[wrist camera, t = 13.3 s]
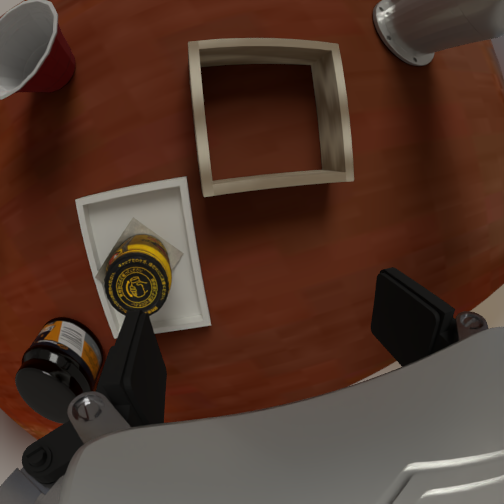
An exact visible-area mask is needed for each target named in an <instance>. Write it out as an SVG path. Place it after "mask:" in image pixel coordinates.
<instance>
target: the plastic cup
mask: <svg viewBox="0 0 504 504" xmlns="http://www.w3.org/2000/svg"><path fill="white" fill-rule="evenodd" d="M74 70H75V57H74V56H73V54H72V52H71V49H70V47H69V45H68V43H67V41H66V40H65V38H64V36H63V34H62V32H61V29H60V27H59V24H58V14H57V12H56V10H55V8H54V6H53V5H52V3H51V2H49V1H46V0H28V1H24V2H22V3H21V4H19V5H17V6H16V7H14V8H12V9H11V10H9V11H8V12H7V13H6V14H5V15H4V16H3V17H2V18H1V19H0V99H4V98H6V97H8V96H9V95H11V94H13V93H17V92H54V91H56V90H59V89H61V88H62V87H63V86H64V85H66V84H67V83H68V81H69V80H70V79H71V77H72V76H73V73H74Z"/></svg>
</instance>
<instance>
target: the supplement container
mask: <svg viewBox="0 0 504 504" xmlns="http://www.w3.org/2000/svg"><path fill="white" fill-rule="evenodd" d="M102 362H103V351H102V348H101V345H100V343H99V341H98V339H97V338H96V336H95V335H94V334H93V332H92V331H91V330H90V329H89V328H87V327H86V326H85V325H83V324H82V323H80V322H78V321H76V320H74V319H71V318H66V317H58V318H54V319H52V320H50V321H48V322H47V323H46V324H45V325H44V327H43V328H42V330H41V332H40V333H39V335H38V336H37V337H36V339H35V340H34V342H33V343H32V345H31V346H30V348H29V349H27V350H26V352H25V353H24V355H23V358H22V365H21V367H20V369H19V370H18V372H17V374H16V377H15V382H16V386H17V389H18V391H19V393H20V395H21V397H22V398H23V399H24V401H25V402H26V403H27V404H28V405H29V406H30V407H31V408H32V409H33V410H34V411H36V412H37V413H38V414H40V415H42V416H43V417H45V418H47V419H49V420H52V421H54V422H58V423H63V424H65V423H66V422H68V421H69V420H70V419H69V417H68V407H69V405H70V403H71V401H72V400H73V399H74V398H75V397H77V396H78V395H80V394H83V393H85V392H91V391H92V392H93V388H94V385H95V382H96V379H97V376H98V373H99V370H100V368H101V366H102Z"/></svg>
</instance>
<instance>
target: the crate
mask: <svg viewBox="0 0 504 504" xmlns="http://www.w3.org/2000/svg"><path fill="white" fill-rule="evenodd" d="M188 64H189V76H190V88H191V99H192V110H193V120H194V129H195V138H196V147H197V156H198V164H199V173H200V181H201V188H202V193H203V196H204V197H209V196H216V195H223V194H230V193H238V192H245V191H253V190H262V189H270V188H279V187H289V186H299V185H309V184H320V183H333V182H346V181H354V170H353V155H352V142H351V130H350V120H349V111H348V103H347V95H346V88H345V81H344V74H343V68H342V62H341V56H340V51H339V45H338V44H334V43H327V42H318V41H309V40H296V39H279V38H233V39H215V40H203V41H193V42H188ZM236 64H300V65H311V70H312V77H313V84H314V92H315V100H316V108H317V117H318V127H319V137H320V148H321V160H322V170H312V171H299V172H288V173H277V174H267V175H257V176H248V177H240V178H232V179H224V180H217V181H212V174H211V165H210V157H209V148H208V139H207V130H206V120H205V110H204V100H203V90H202V79H201V68H200V67H209V66H221V65H236Z"/></svg>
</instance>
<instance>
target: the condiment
mask: <svg viewBox="0 0 504 504" xmlns="http://www.w3.org/2000/svg"><path fill="white" fill-rule="evenodd" d="M183 254H184V253H182V252H181V251H180V250H178V249H177V248H175V247H174V246H173V245H171V244H170V243H168V242H167V241H166V240H164V239H163V238H161V237H160V236H159V235H157V234H156V233H154V232H153V231H152V230H150V229H149V228H147V227H146V226H145V225H143V224H142V223H141V222H139V221H138V220H136V219H135V218H134V217H133V218H132V220H131V221H130V222H129V224H128V225H127V227H126V228H125V230H124V231H123V233H122V235H121V236H120V238H119V239H118V241H117V242H116V244H115V245H114V247H113V248H112V250H111V252H110V253H109V255H108V257H107V258H106V260H105V261H104V263H103V265H102V266H101V268H100V270H99V271H98V273H97V275H96V277H95V278H96V279H98V280H99V281H101V282H103V283H104V288H105V293H106V295H107V299H108V300H109V301H110V304H111V305H112V306H113V308H115V309H116V310H117V311H118V312H120V313H121V314H123V315H125V316H126V313H127V312H128V311H135V310H142V311H143V312H144V313H148V315H149V316H151V315H152V314H154V313H156V312H158V311H159V310H160V309H161V308H162V306H163V304H164V303H165V302H166V300H167V297H168V294H169V291H170V288H171V283H172V270H173V268H174V267H175V265H176V264H177V262H178V261H179V259H180V258H181V257H182V255H183Z"/></svg>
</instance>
